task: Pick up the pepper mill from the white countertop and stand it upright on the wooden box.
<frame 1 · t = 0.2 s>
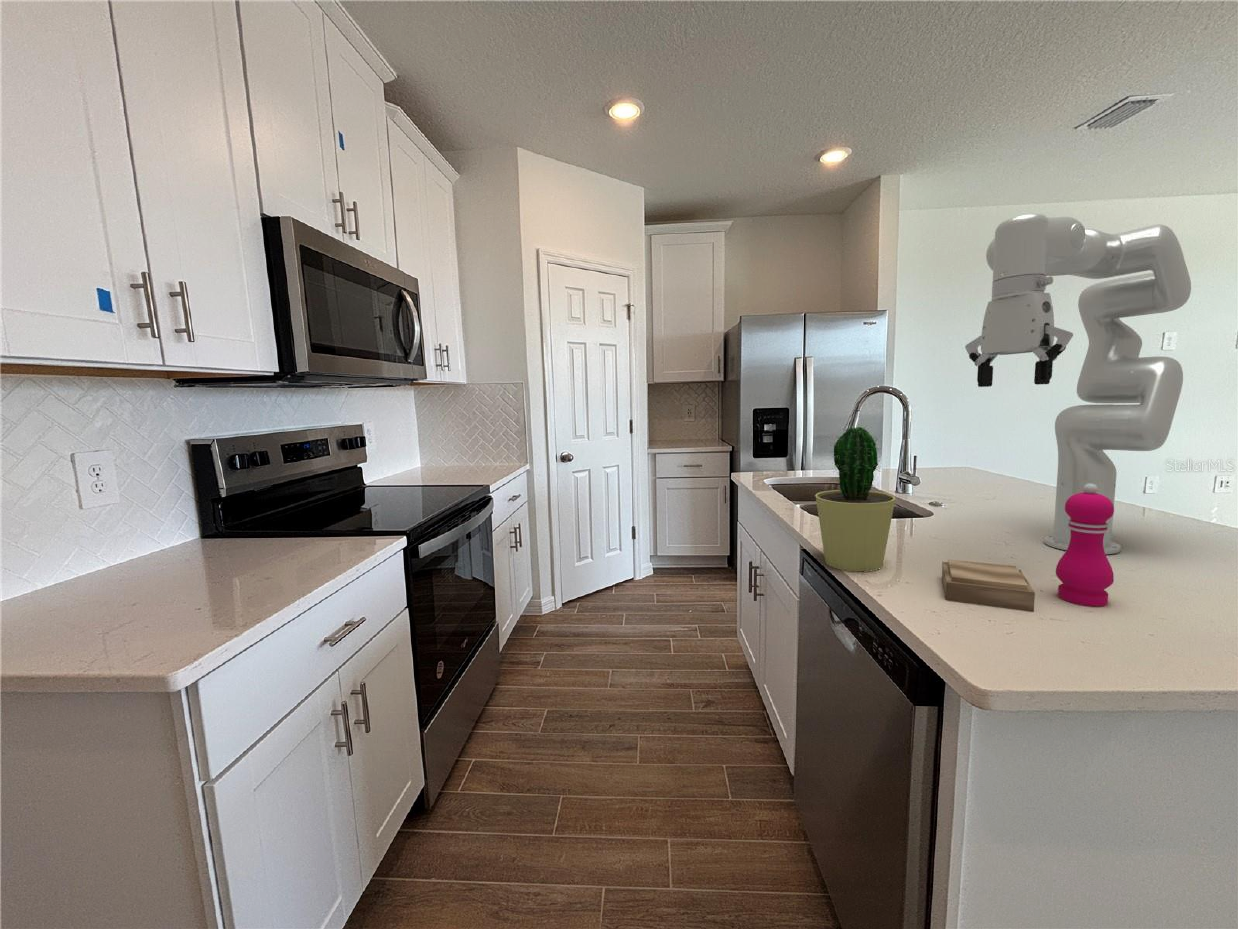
hand: (1012, 385, 93), 37 cm above the countertop, tool pointing down, fingers open, 9 cm apart
wooden box: (983, 593, 90), on the countertop
potted cactus: (853, 564, 108), on the countertop
pepper mill: (1082, 600, 86), on the countertop
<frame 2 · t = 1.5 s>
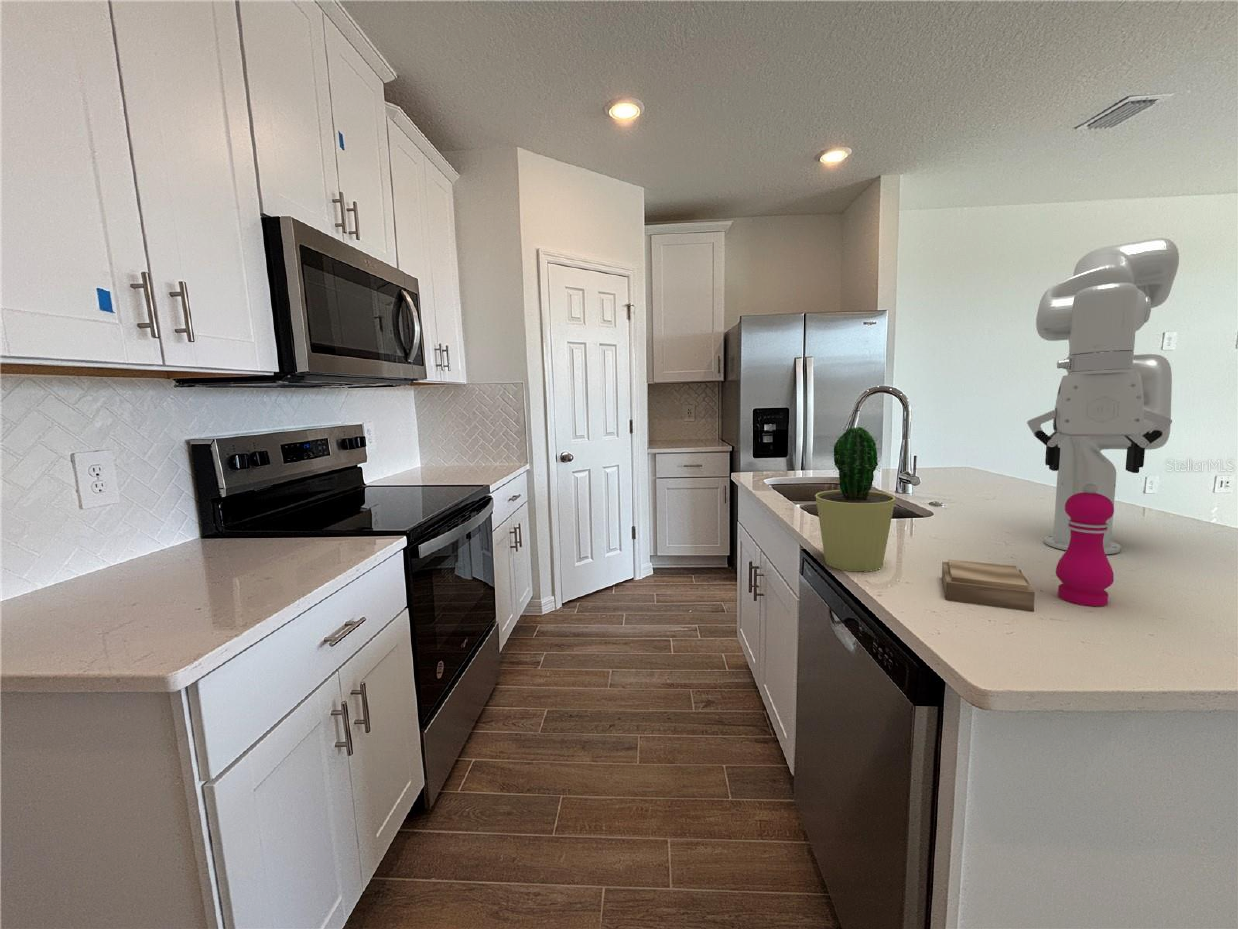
hand: (1091, 470, 82), 22 cm above the countertop, tool pointing down, fingers open, 9 cm apart
nothing on the countertop moved.
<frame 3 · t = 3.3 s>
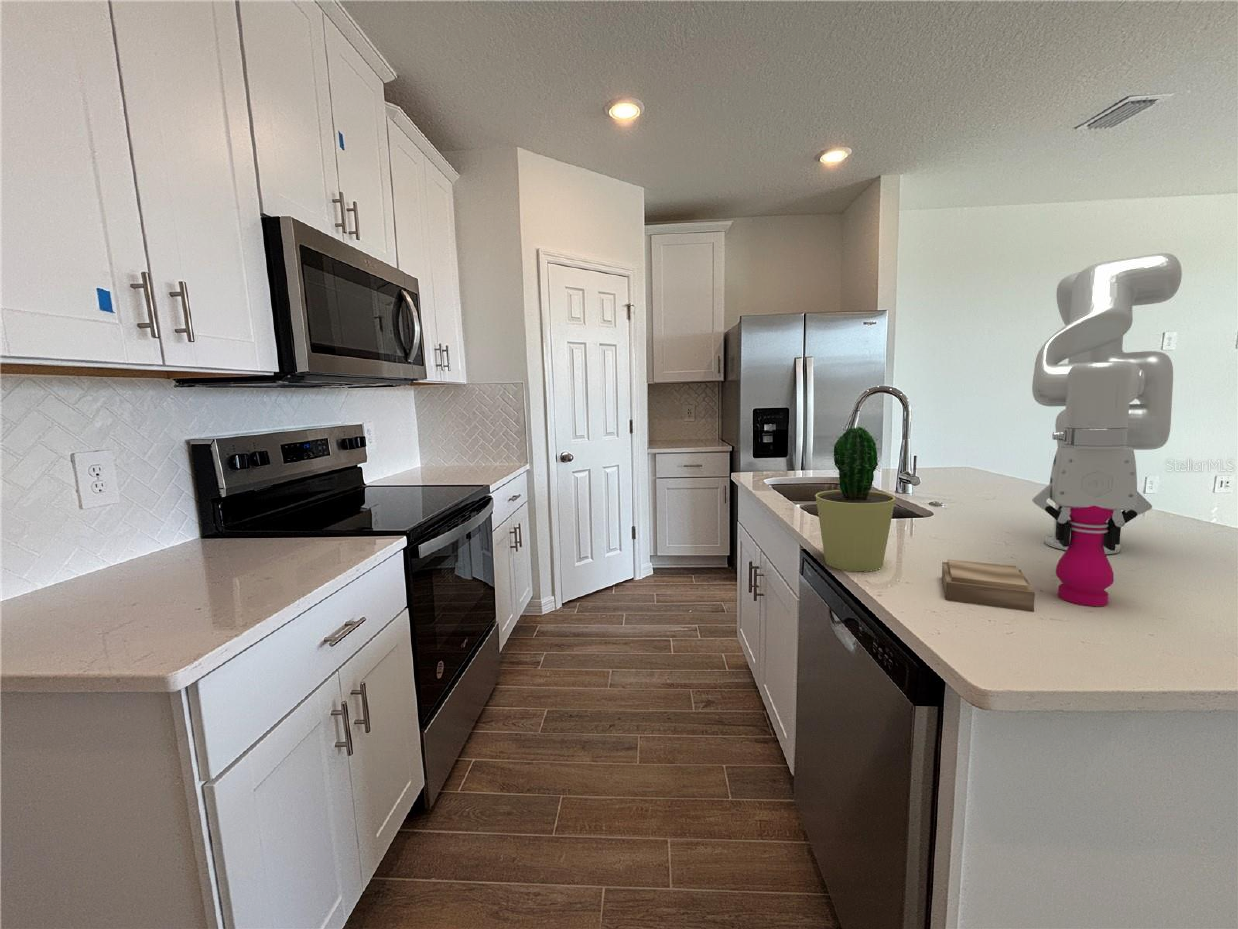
hand: (1086, 545, 84), 9 cm above the countertop, tool pointing down, fingers closed on pepper mill, 5 cm apart
pepper mill: (1082, 600, 86), on the countertop, touching gripper
everything else where it was.
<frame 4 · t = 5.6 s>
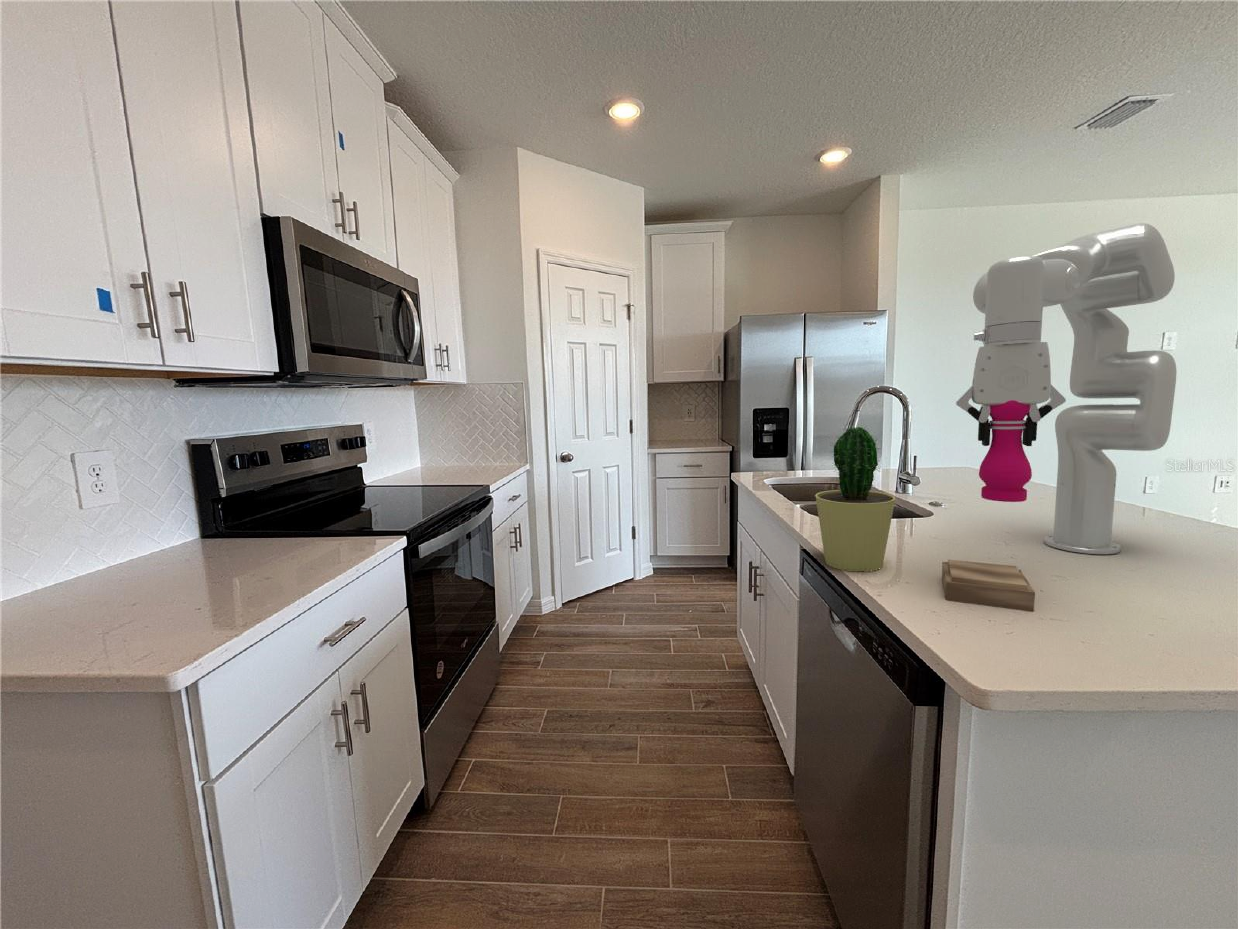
hand: (1005, 444, 86), 27 cm above the countertop, tool pointing down, fingers closed on pepper mill, 5 cm apart
pepper mill: (1003, 499, 87), point 17 cm above the countertop, touching gripper
everything else where it was.
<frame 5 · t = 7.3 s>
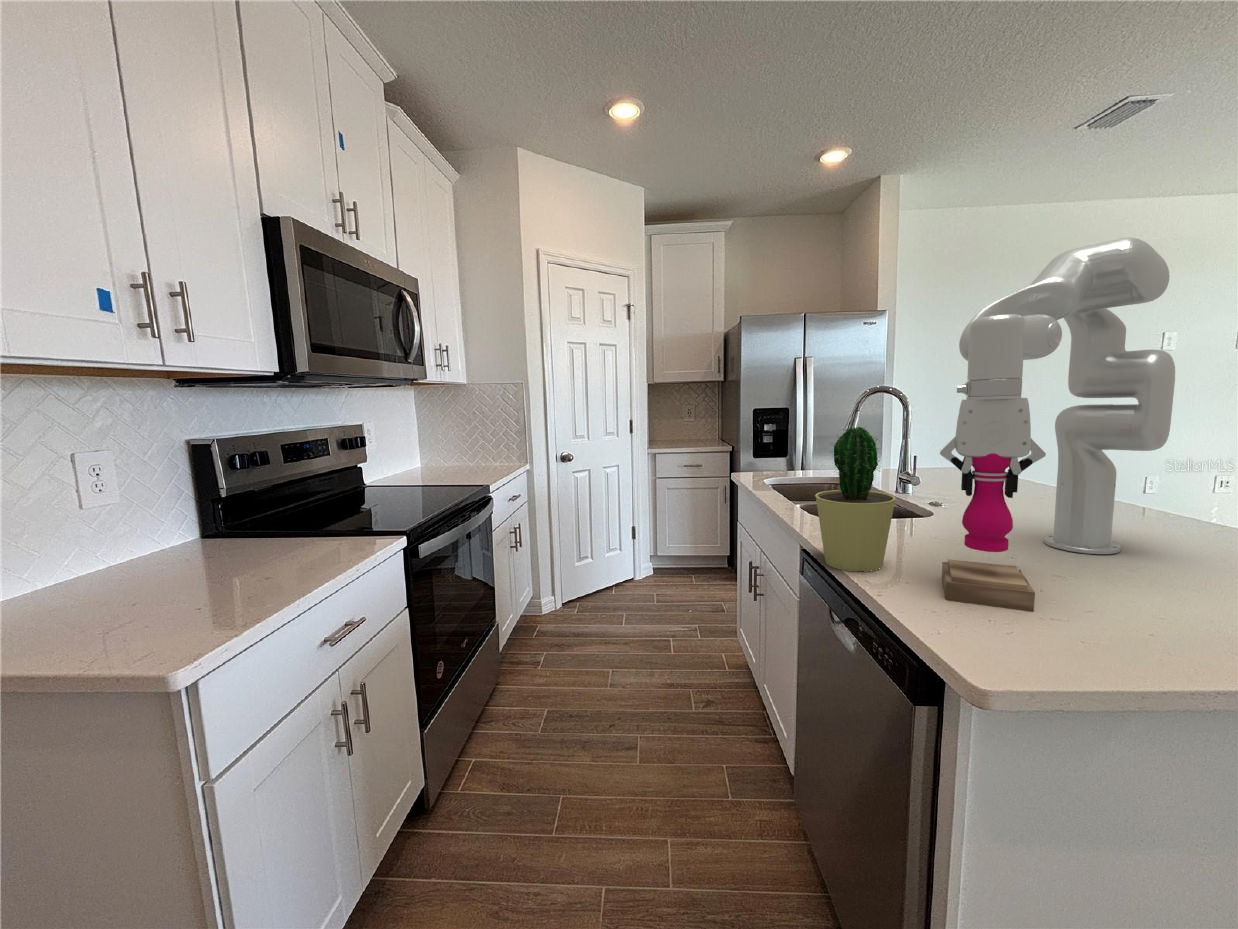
hand: (988, 494, 88), 18 cm above the countertop, tool pointing down, fingers closed on pepper mill, 5 cm apart
pepper mill: (985, 548, 89), point 8 cm above the countertop, touching gripper
everything else where it was.
when the fingers open (14 cm above the countertop, at t = 8.4 s): pepper mill stays where it is, resting on wooden box.
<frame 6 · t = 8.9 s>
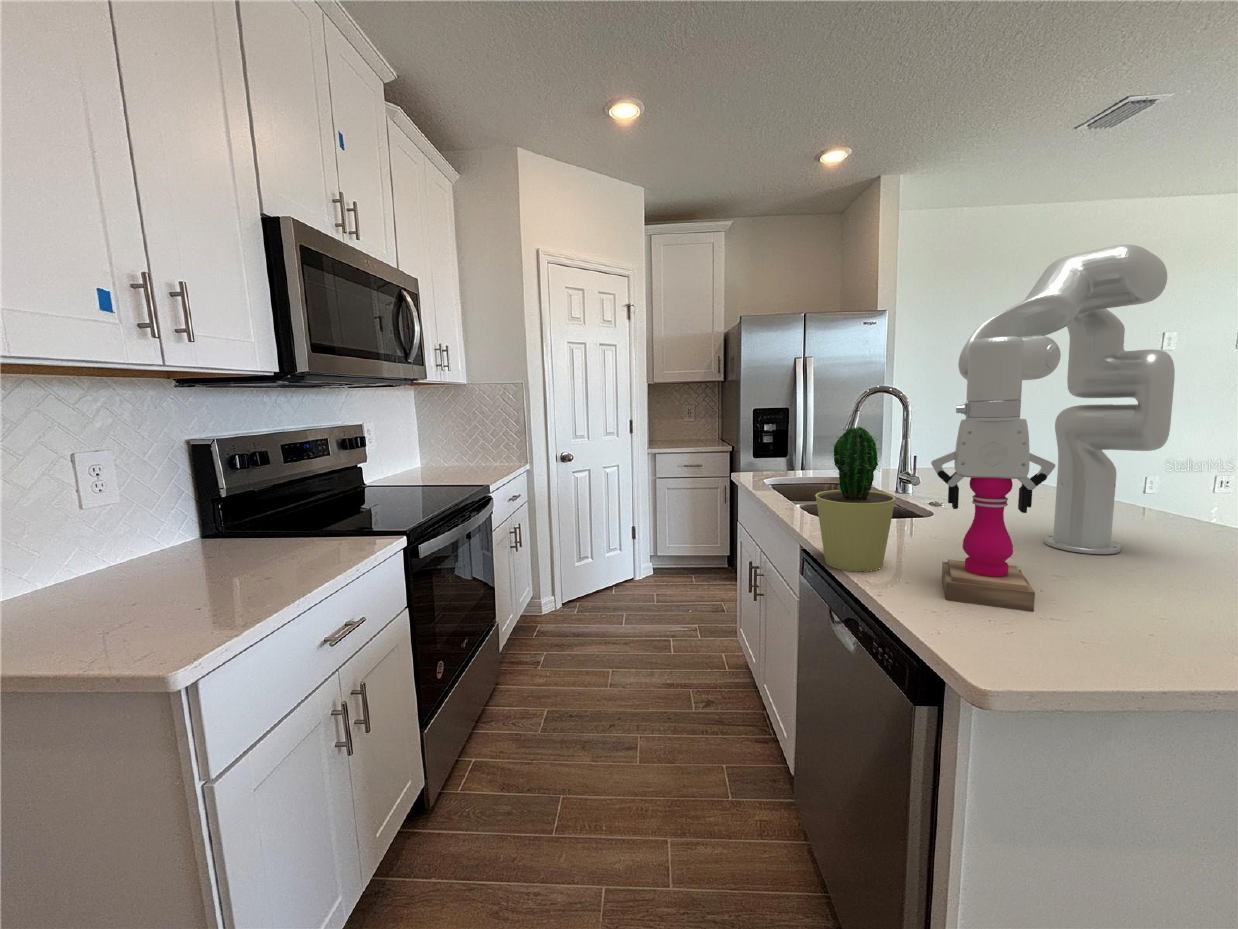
hand: (987, 509, 88), 15 cm above the countertop, tool pointing down, fingers open, 9 cm apart
pepper mill: (985, 572, 89), point 4 cm above the countertop, touching wooden box
everything else where it was.
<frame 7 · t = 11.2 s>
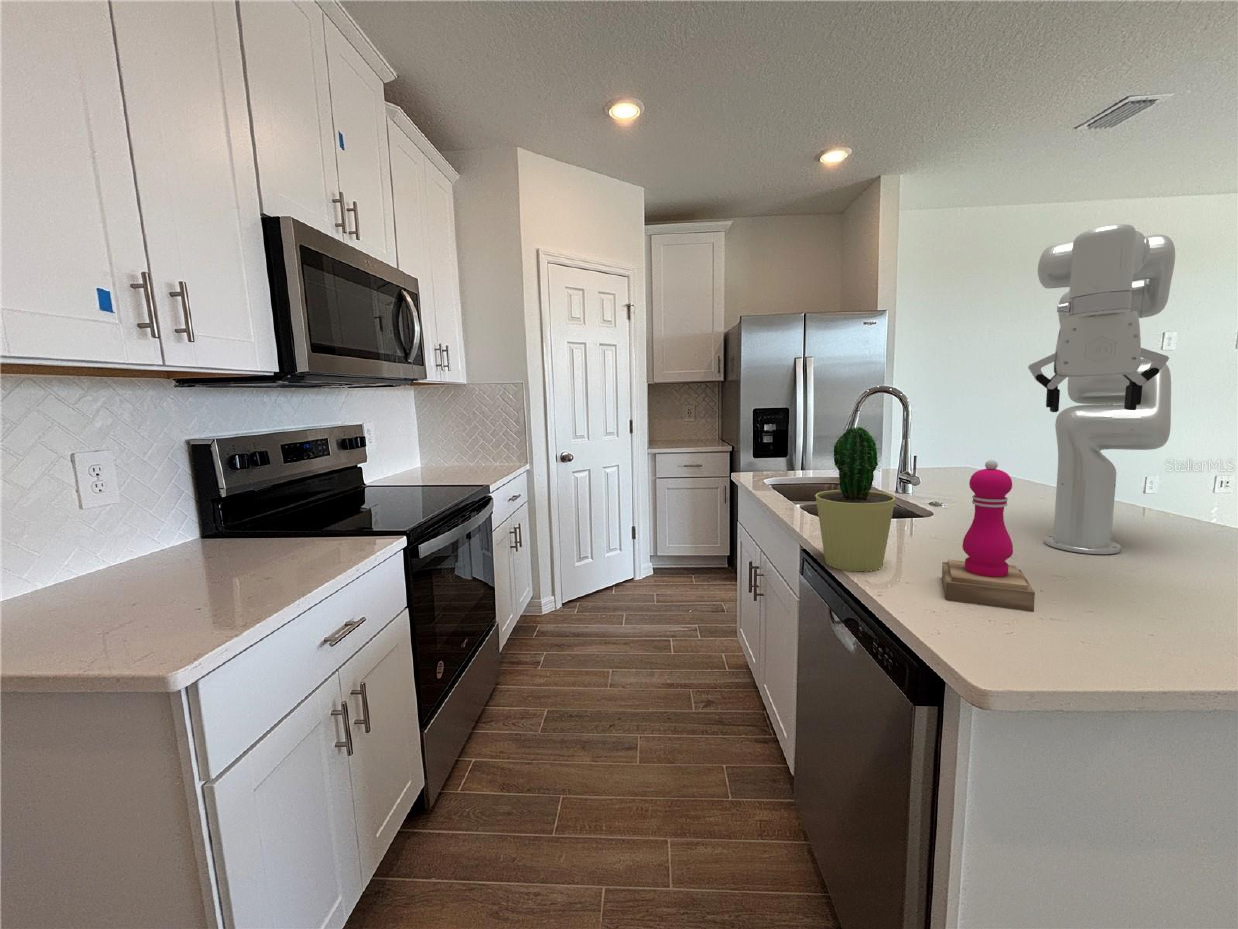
hand: (1090, 410, 86), 32 cm above the countertop, tool pointing down, fingers open, 9 cm apart
nothing on the countertop moved.
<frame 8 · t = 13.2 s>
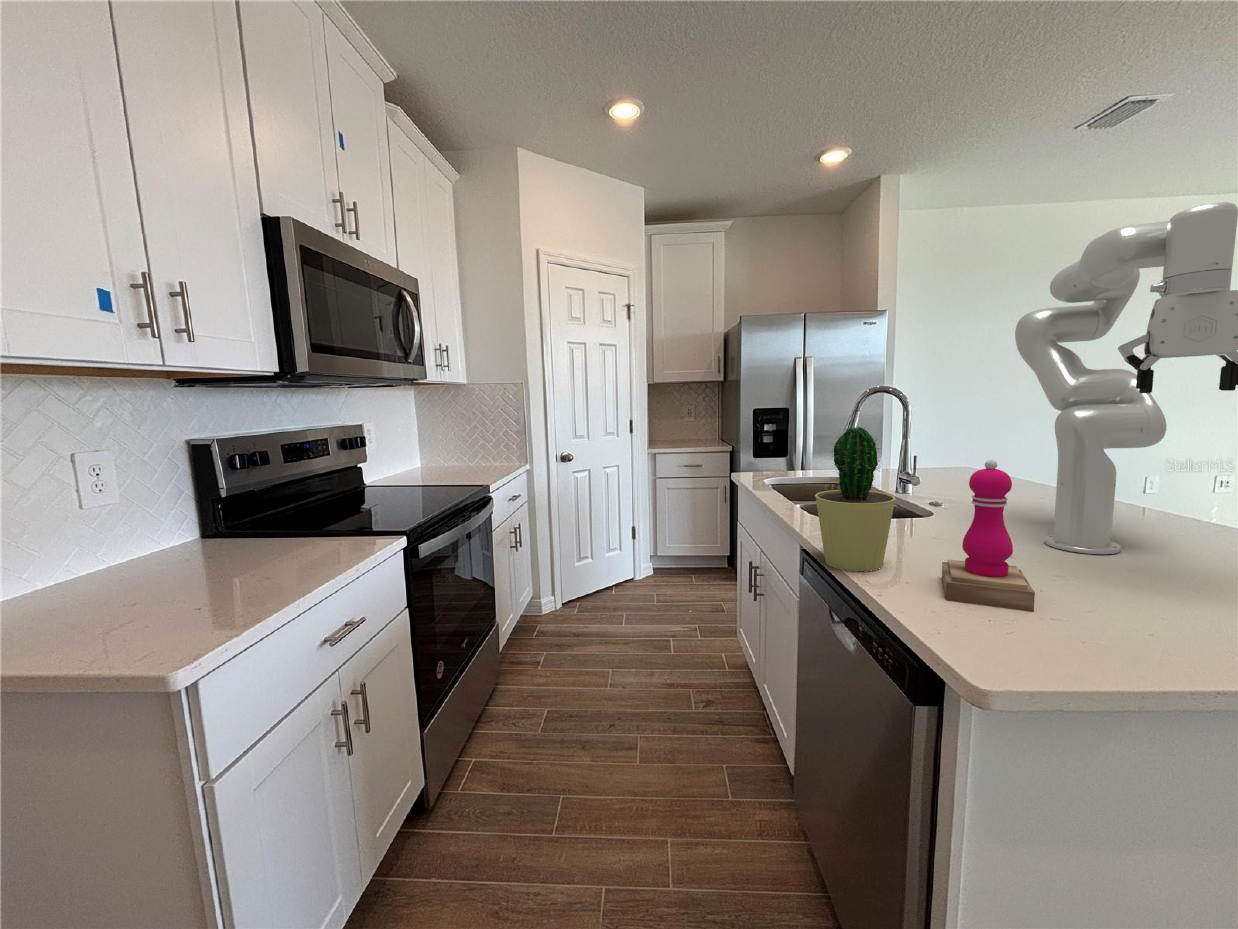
hand: (1184, 391, 85), 34 cm above the countertop, tool pointing down, fingers open, 9 cm apart
nothing on the countertop moved.
at the end: pepper mill inside the target area on the wooden box (0.2 cm from its centre), point 3.8 cm above the wooden box's base; pepper mill tilted 0°; the gripper is holding nothing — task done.
